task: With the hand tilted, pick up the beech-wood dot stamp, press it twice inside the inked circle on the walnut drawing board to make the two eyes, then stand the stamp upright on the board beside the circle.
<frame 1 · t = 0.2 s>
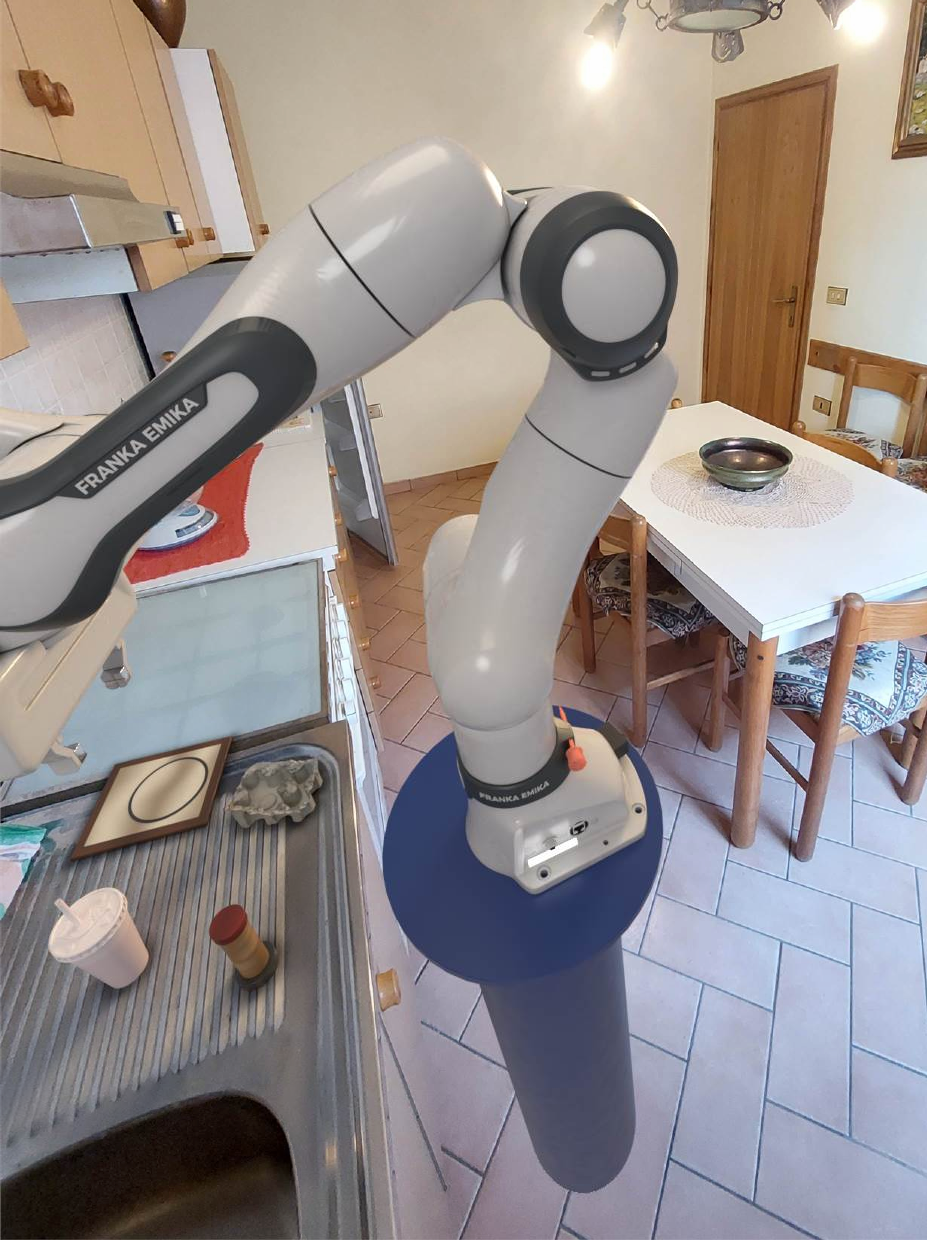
hand: (99, 721, 53), 32 cm above the worktop, tool pointing down, fingers open, 8 cm apart
smoothie: (129, 968, 64), on the worktop
stamp: (258, 968, 63), on the worktop
egg carton: (281, 800, 80), on the worktop
drawing board: (159, 794, 83), on the worktop
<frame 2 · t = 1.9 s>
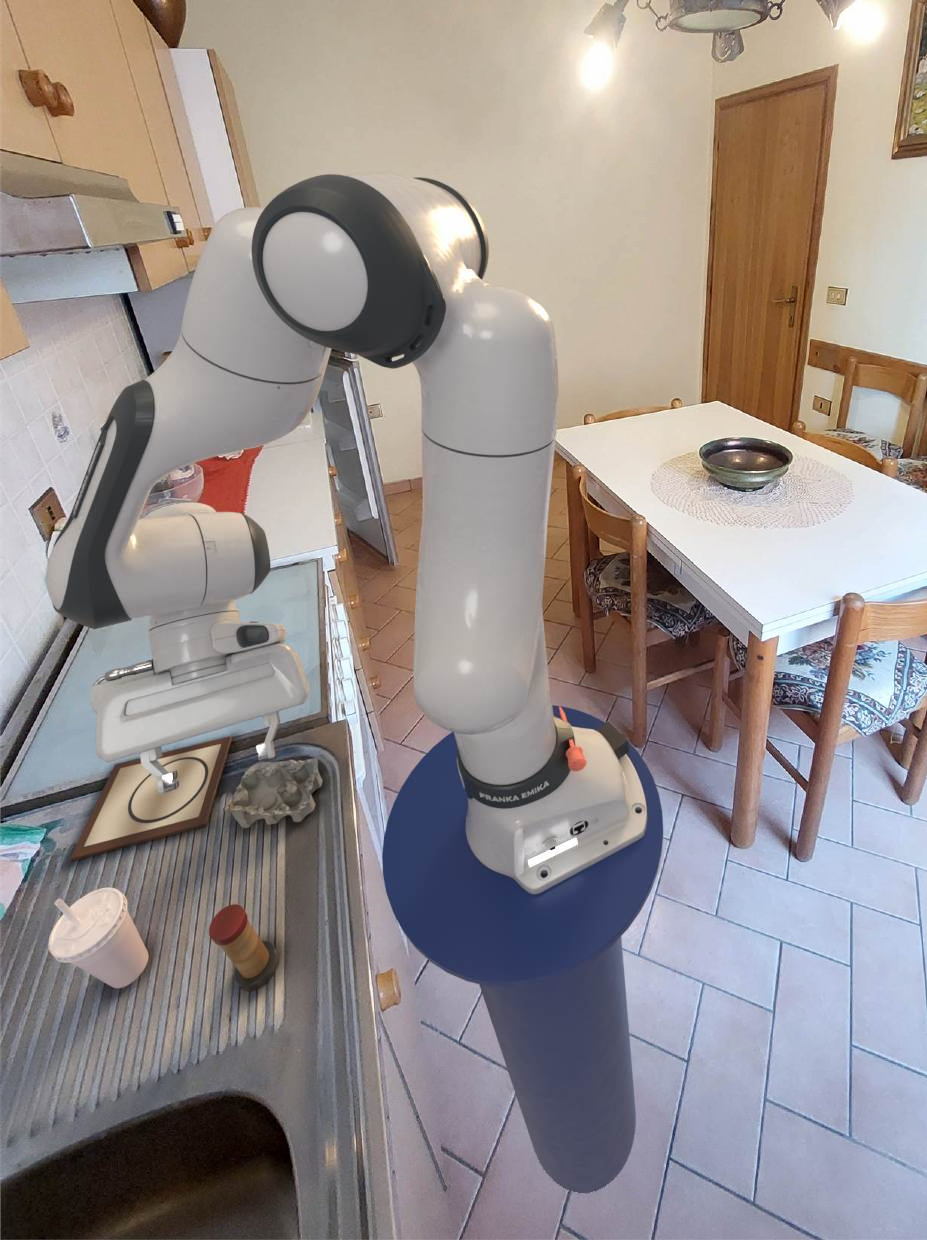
hand: (219, 774, 65), 17 cm above the worktop, tool tilted 40°, fingers open, 8 cm apart
nothing on the worktop moved.
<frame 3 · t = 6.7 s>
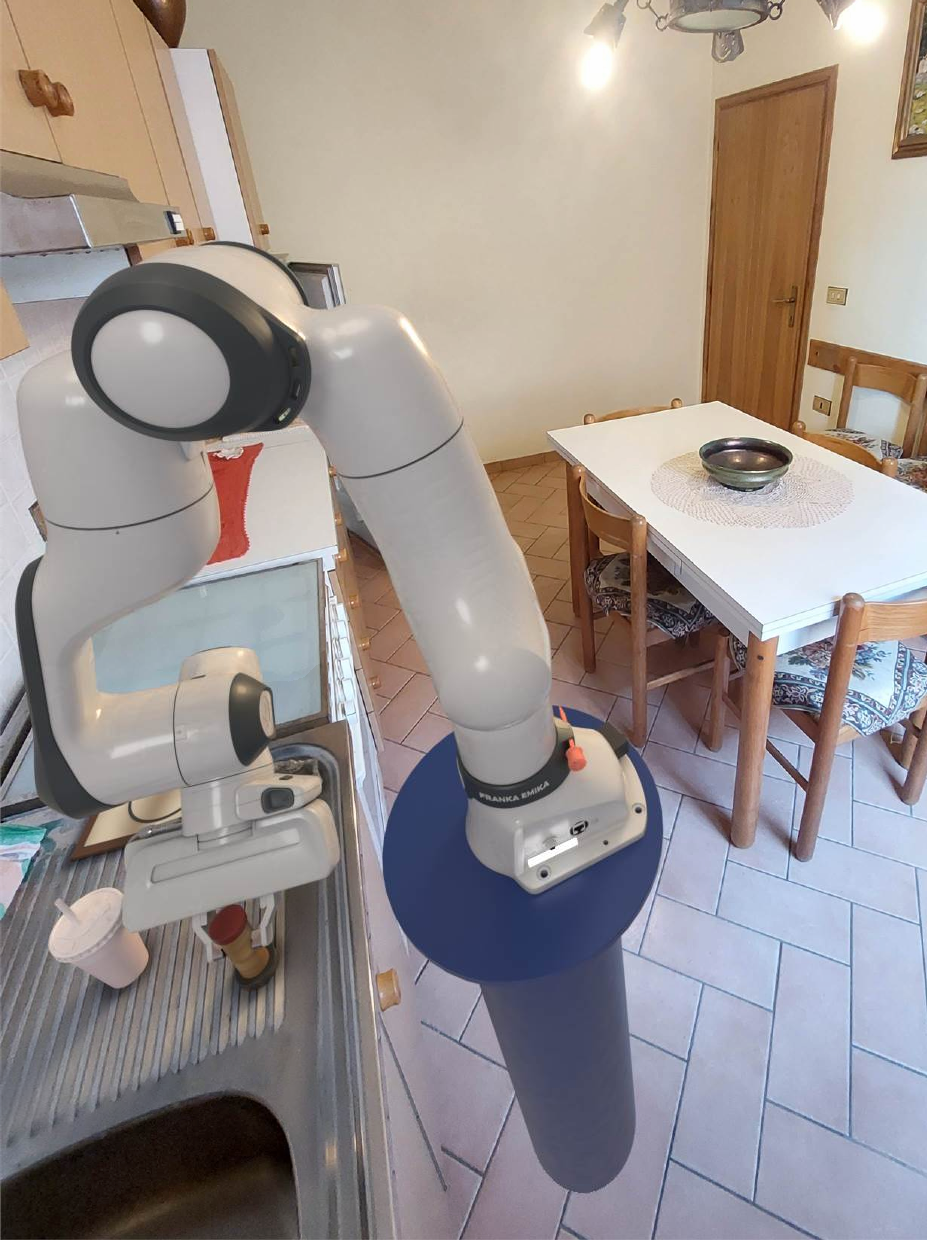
hand: (241, 951, 60), 5 cm above the worktop, tool tilted 45°, fingers closed on stamp, 3 cm apart
stamp: (258, 968, 63), on the worktop, touching gripper
everything else where it was.
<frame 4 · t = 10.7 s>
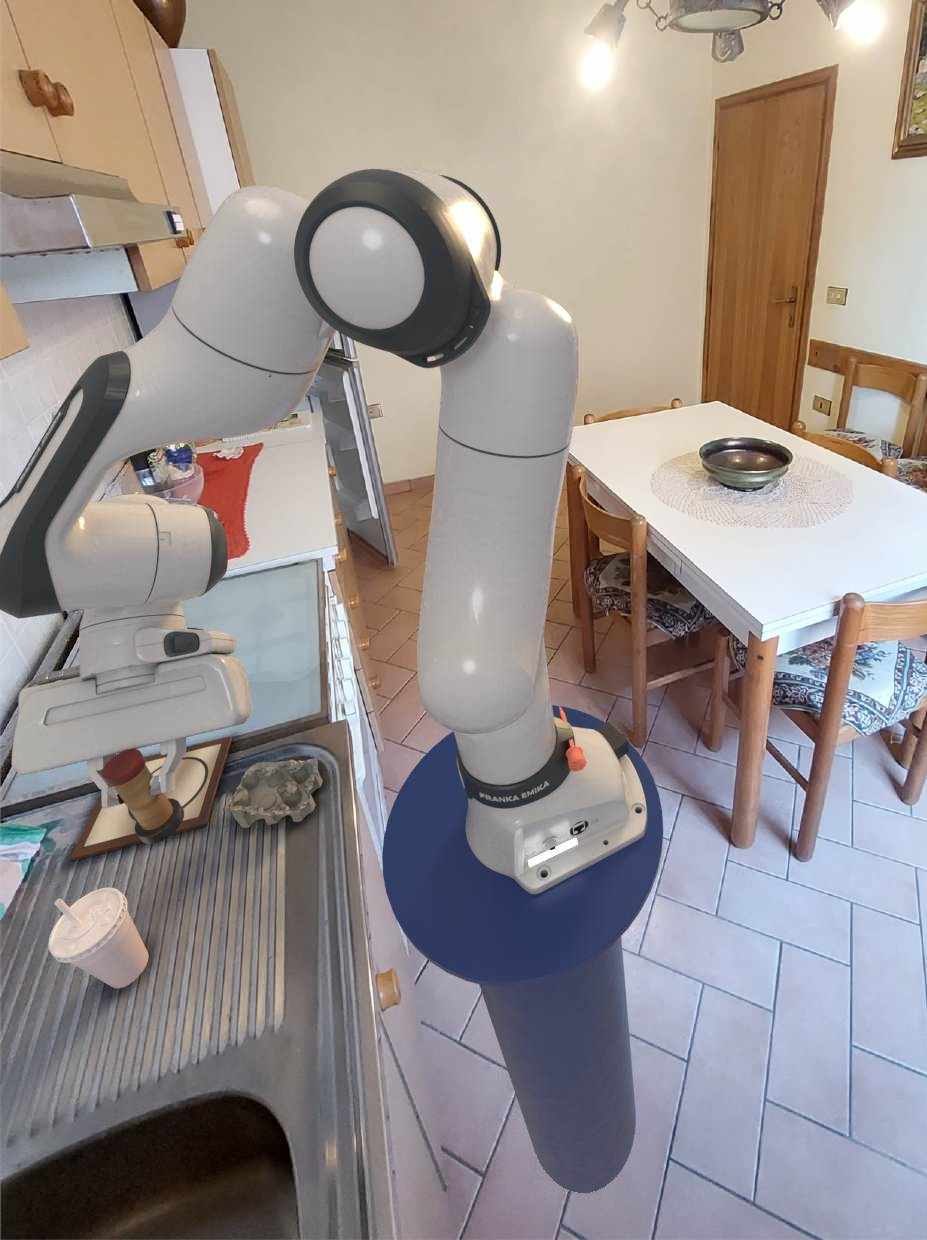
hand: (139, 799, 57), 22 cm above the worktop, tool tilted 45°, fingers closed on stamp, 3 cm apart
stamp: (162, 824, 60), point 17 cm above the worktop, touching gripper
everything else where it was.
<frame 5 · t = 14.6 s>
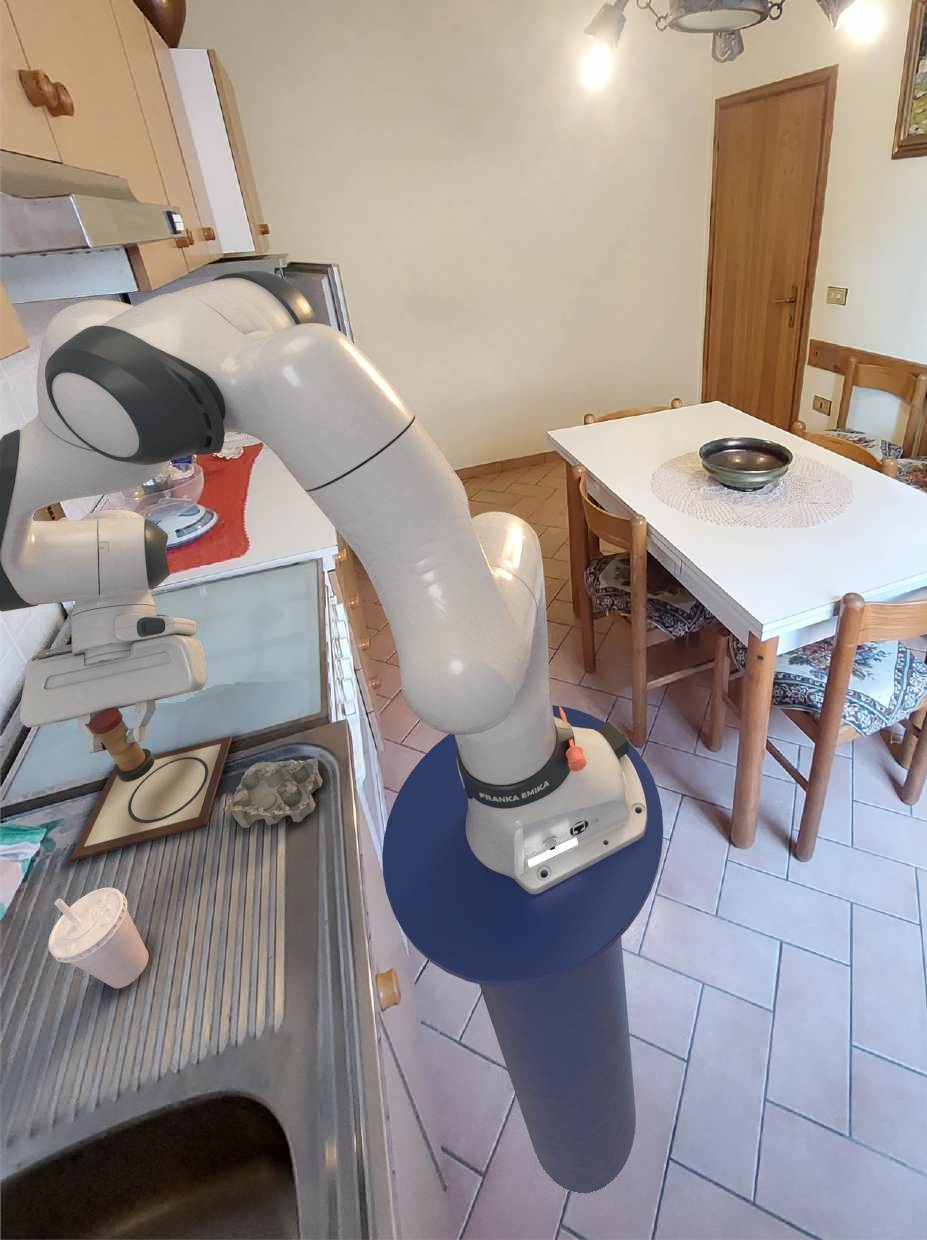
hand: (118, 746, 74), 13 cm above the worktop, tool tilted 45°, fingers closed on stamp, 3 cm apart
stamp: (137, 767, 77), point 8 cm above the worktop, touching gripper
everything else where it was.
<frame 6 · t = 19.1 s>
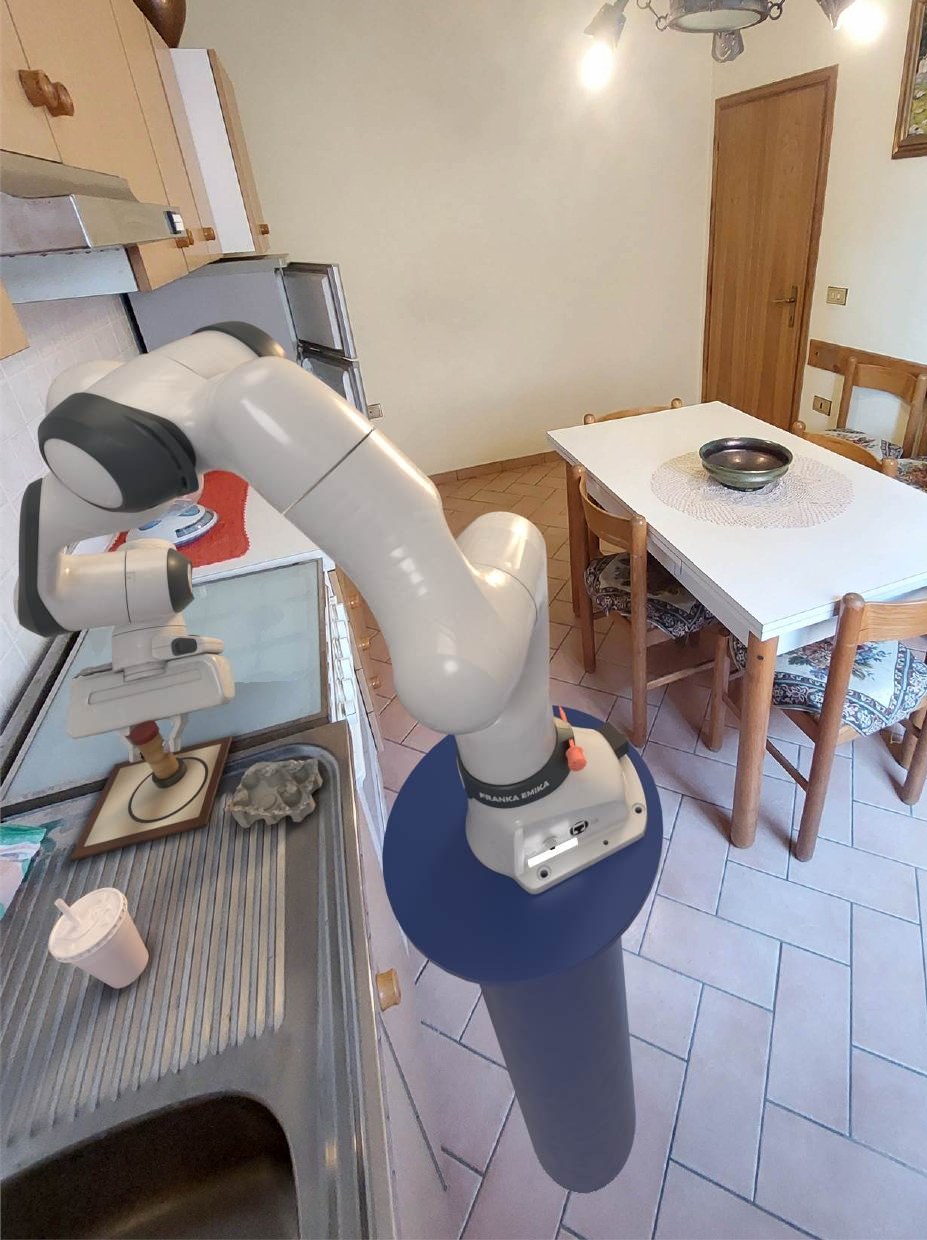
hand: (155, 756, 81), 6 cm above the worktop, tool tilted 45°, fingers closed on stamp, 3 cm apart
stamp: (171, 775, 84), point 1 cm above the worktop, touching drawing board, gripper
everything else where it was.
when the fingers open (6 cm above the worktop, at t = 22.9 s): stamp stays where it is, resting on drawing board.
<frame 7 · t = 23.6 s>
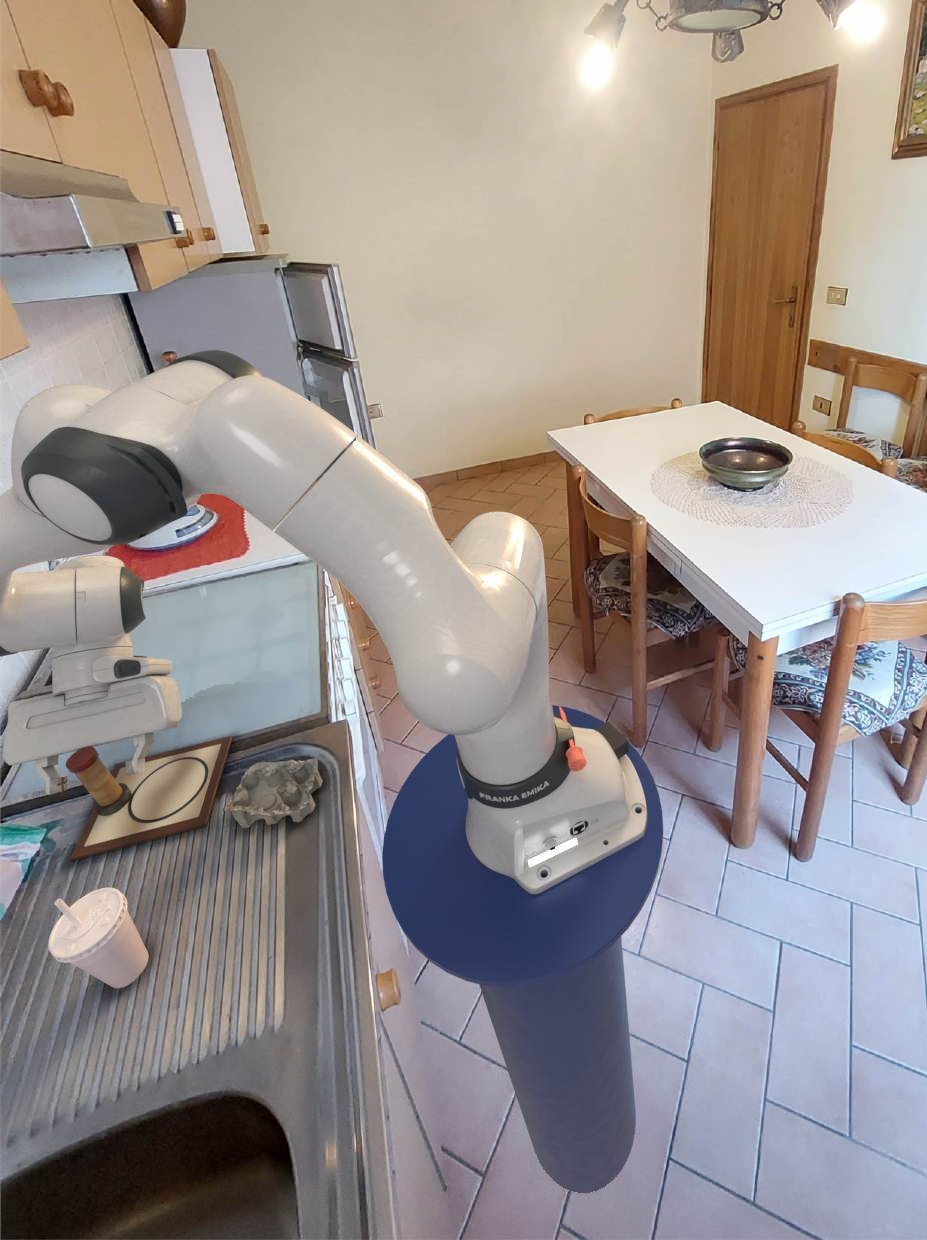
hand: (96, 783, 78), 6 cm above the worktop, tool tilted 45°, fingers open, 8 cm apart
stamp: (114, 801, 81), point 1 cm above the worktop, touching drawing board
everything else where it was.
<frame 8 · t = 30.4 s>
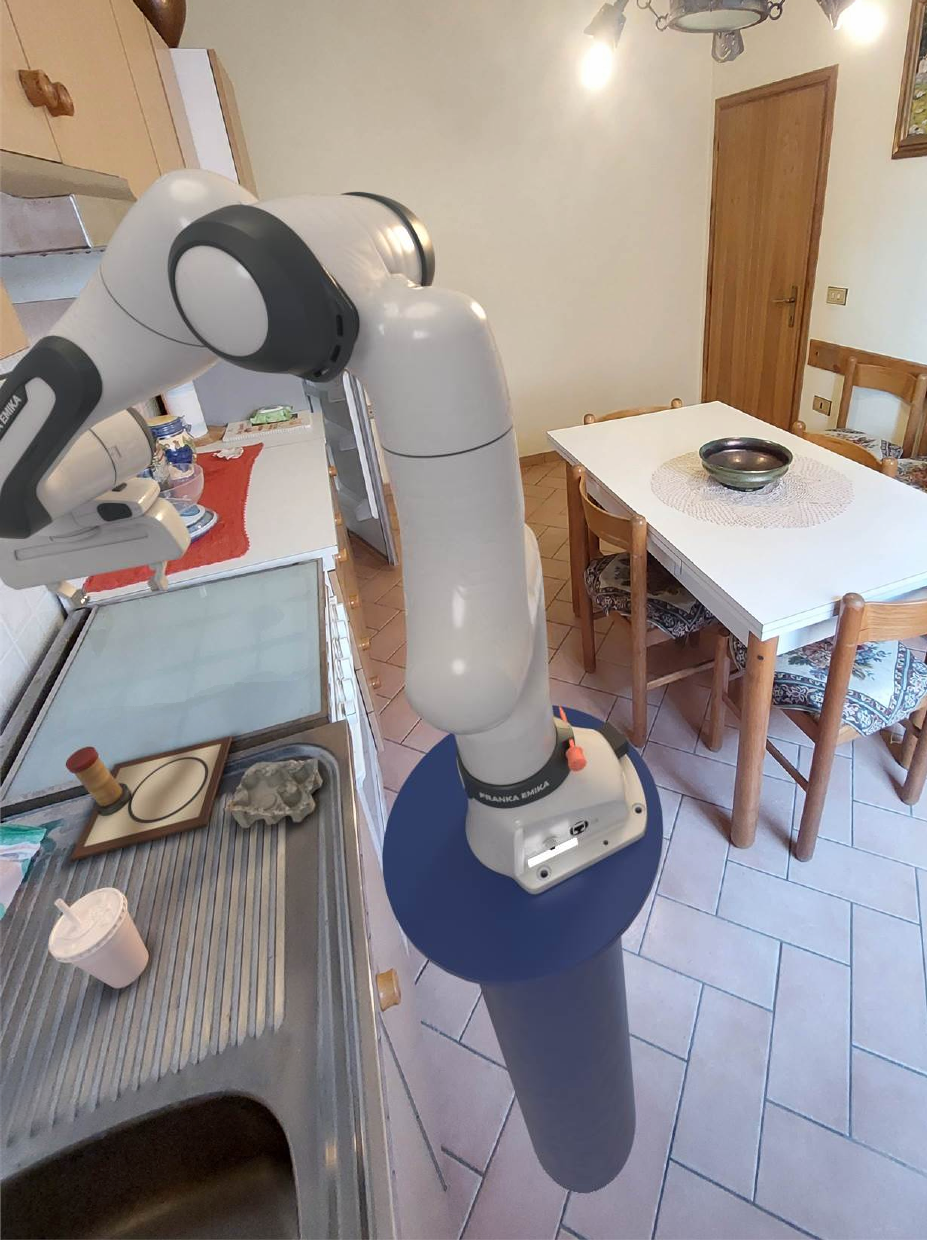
hand: (122, 596, 78), 27 cm above the worktop, tool pointing down, fingers open, 8 cm apart
nothing on the worktop moved.
at the end: stamp 0.1 cm from the target spot on the drawing board, point 0.7 cm above the drawing board's base; stamp tilted 1°; stamp moved 35.0 cm from its start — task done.
